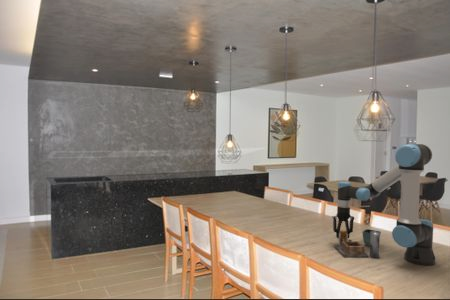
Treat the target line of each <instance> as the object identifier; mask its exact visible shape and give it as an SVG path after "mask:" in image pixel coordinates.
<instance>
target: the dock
mask: <svg viewBox="0 0 450 300" xmlns="http://www.w3.org/2000/svg"><path fill="white" fill-rule="evenodd" d="M348 244H352V245H353V246H348ZM332 247H333V248H334V249H335V250H336V251H337V252H338V253H339V254H340V255H341V257H343V258H350V259H351V258H352V259H353V258H355V259H358V258H359V259H360V258H363V259H365V258H366V259H368V258H369V257H370V254H367V253H366V251H365V250H366V246H365V245H363V244H362V243H360V242H359V241H353V240H352V239H350V238H348V241H345V240H344V239H342V241H341V245H340V244H333V245H332Z"/></svg>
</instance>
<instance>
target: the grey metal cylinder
mask: <svg viewBox="0 0 450 300" xmlns="http://www.w3.org/2000/svg"><path fill="white" fill-rule="evenodd" d="M376 231H377V230H375V231H371V232H370V246H369V257H370V258H371V259H379V258H380V242H381V240H380V239H381V234H380V232H376Z"/></svg>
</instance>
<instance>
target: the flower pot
mask: <svg viewBox="0 0 450 300" xmlns="http://www.w3.org/2000/svg"><path fill="white" fill-rule="evenodd" d="M371 231H376V232H380V235H381V233H382V232H381V231H379V230H374V229H367V228H366V229H364V230H363V231H362V239H363V242H364V244H365V246H368V247H370V232H371Z"/></svg>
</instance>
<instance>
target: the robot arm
mask: <svg viewBox="0 0 450 300" xmlns="http://www.w3.org/2000/svg"><path fill="white" fill-rule="evenodd" d="M394 158H395V161H396V163H397V164H396V165H394V166H393V167H392V168H390V169H389V170H388V171H387V172H385V173H384V174H382V175H380V176H379V177H378V178H376V179H375V180H374V181H372V182H370V183H369V184H368V185H364V186H354V185H353V186H352V184H351V182H349V181H338V185H337V208H336V209H337V210H336V211H337V212H336V215H332V216H331V217H332V218H331V219H332V221H333V222H332V223H333V224H332V225H333V228H332V229H333V232H334V233H336V234H335V235H336V237H335V238H336V239H337V244H338V245H340V233H339V232H340V230H341V227H342V223H343V222H344V224H345V230H346V231H347V241H348V239H350V234H351V233H353V232H354V220H355V217H354V216H353V215H351V199H354V200H359V201H362V202H363V201H364V202H365V201H368V200H369V199H372V198H373V199H374V198H377V197H379V196H380V195H381V193H382V192H383V191H385V190H387V188H390V187H391V186H392V185H394V184H395V183H397V182H398V181H400V180H401V182H400V185H401V186H400V206H399V208H400V209H399V217H397V218H396V223H395V225H396V226H394V228H392V230H391V231H392V232H391V235H392V239H393V241H394V242H395V243H396V244H397V245H398V246H400V247H402V248H406V250H405V251H404V255H403V257H404V260H406V261H407V262H409V263H412V264H416V265H421V266H433V265H435V264H436V263H437V261H436V257H435V253H434V249H433V244H434V242H433V241H434V223H433V221H431V220H428V219H423V218H419V213H420V212H419V208H420V188H421V173H422V172H424V170H425V166H426V165H427V164H429V163H430V162H431V160H432V158H433V152H432V150H431V149H430V147H429V146H428V145H425V144H422V143H415V144H414V143H407V144H403V145H401V146H399V147H398V148H397V150H396V152H395V153H394ZM337 219H338V221H337Z"/></svg>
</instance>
